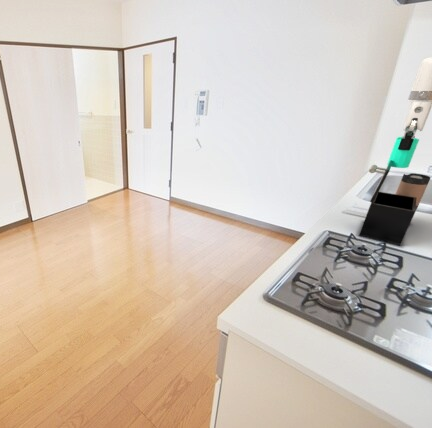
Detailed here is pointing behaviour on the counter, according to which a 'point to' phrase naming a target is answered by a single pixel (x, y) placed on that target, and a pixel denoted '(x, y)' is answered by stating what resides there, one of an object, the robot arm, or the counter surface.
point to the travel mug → (413, 186)
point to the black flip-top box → (389, 218)
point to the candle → (402, 154)
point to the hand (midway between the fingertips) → (404, 147)
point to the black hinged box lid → (373, 169)
